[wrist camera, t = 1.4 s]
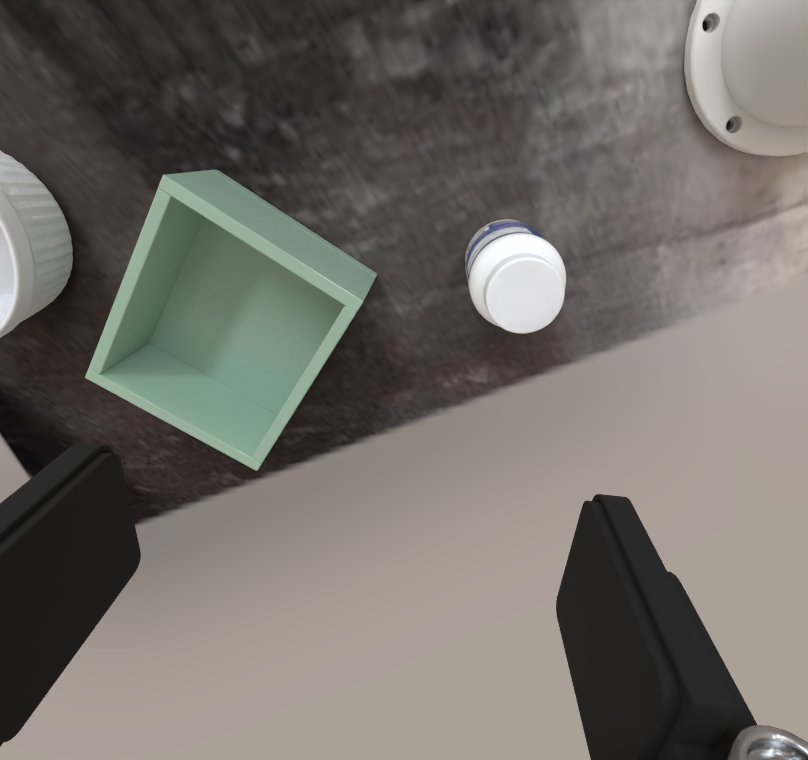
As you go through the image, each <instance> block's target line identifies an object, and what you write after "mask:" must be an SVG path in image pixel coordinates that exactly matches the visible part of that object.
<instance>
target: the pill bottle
mask: <svg viewBox="0 0 808 760" xmlns="http://www.w3.org/2000/svg"><path fill="white" fill-rule="evenodd" d="M465 269H466V274H467V279H468V284H469V291H470V295H471V298H472V301H473V303H474V305H475V307H476V309H477V310H478V312H479V313H480V314H481V315H482V316H483V317H484V318H485V319H486V320H488V321H489V322H491V323H492V324H494V325H497V326H499V327H501V328H503V329H505V330H507V331H510V332H513V333H531V332H535V331H537V330H540V329H542V328H544V327H545V326H547V325H548V324H549V323H551V322H552V321H553V320H554V319H555V317H556V316H557V315H558V313H559V311H560V309H561V307H562V305H563V301H564V291H565V286H566V271H565V267H564V264H563V261H562V259H561V257H560V255H559V254H558V252H557V251H556V249H555V248H554V247H553V246H552V245H551V244H550V243H549V242H548V241H546V240H545V239H544V238H543V237H542V236H541V235H540V234H538V233H537V232H536V231H535V230H534V229H533V228H531V227H530V226H528V225H527V224H525V223H522V222H520V221H516V220H499V221H495V222H492V223H490V224H488V225H486V226H484V227H483V228H482V229H480V230H479V231H478V232H477V233H476V234H475V235H474V237H473V238H472V239H471V241H470V243H469V245H468V248H467V251H466V255H465Z"/></svg>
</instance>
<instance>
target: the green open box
mask: <svg viewBox="0 0 808 760" xmlns="http://www.w3.org/2000/svg"><path fill="white" fill-rule="evenodd" d="M376 277H377V273H375V272H374V271H372V270H371V269H369V268H368V267H366V266H365V265H363V264H361V263H360V262H358V261H357V260H355V259H354V258H352V257H351V256H349V255H348V254H346V253H345V252H343V251H341V250H340V249H338V248H337V247H335V246H334V245H332V244H331V243H329V242H328V241H326V240H325V239H323V238H321V237H320V236H318V235H317V234H315V233H314V232H312V231H311V230H309V229H308V228H306V227H305V226H303V225H301V224H300V223H298V222H297V221H295V220H294V219H292V218H291V217H289V216H288V215H286V214H285V213H283V212H281V211H280V210H278V209H277V208H275V207H274V206H272V205H271V204H269V203H268V202H266V201H265V200H263V199H261V198H260V197H258V196H257V195H255V194H254V193H252V192H251V191H249V190H248V189H246V188H245V187H243V186H242V185H240V184H238V183H237V182H235V181H234V180H232V179H231V178H229V177H228V176H226V175H225V174H223V173H222V172H220V171H218V170H217V169H215V170H205V171H196V172H186V173H176V174H166V175H163V176H162V179H161V181H160V184H159V187H158V190H157V192H156V195H155V198H154V200H153V203H152V205H151V208H150V211H149V213H148V216H147V218H146V221H145V223H144V226H143V229H142V231H141V234H140V236H139V239H138V242H137V244H136V247H135V249H134V252H133V255H132V257H131V260H130V262H129V265H128V268H127V270H126V273H125V275H124V278H123V281H122V283H121V286H120V288H119V291H118V294H117V296H116V299H115V301H114V304H113V307H112V309H111V312H110V314H109V317H108V320H107V322H106V325H105V327H104V330H103V333H102V335H101V338H100V340H99V343H98V346H97V348H96V351H95V353H94V356H93V359H92V361H91V364H90V366H89V369H88V371H87V374H86V376H85V378H86V379H88V380H90V381H92V382H94V383H95V384H97V385H99V386H101V387H103V388H105V389H106V390H108V391H110V392H112V393H114V394H116V395H118V396H119V397H121V398H123V399H125V400H127V401H129V402H130V403H132V404H134V405H136V406H138V407H140V408H141V409H143V410H145V411H147V412H149V413H151V414H153V415H154V416H156V417H158V418H160V419H162V420H164V421H165V422H167V423H169V424H171V425H173V426H175V427H177V428H178V429H180V430H182V431H184V432H186V433H188V434H189V435H191V436H193V437H195V438H197V439H199V440H201V441H202V442H204V443H206V444H208V445H210V446H212V447H213V448H215V449H217V450H219V451H221V452H223V453H224V454H226V455H228V456H230V457H232V458H234V459H236V460H237V461H239V462H241V463H243V464H245V465H247V466H248V467H250V468H252V469H254V470H256V471H258V469H259V467H260V466H261V464H262V463H263V461H264V459H265V458H266V456H267V455H268V453H269V451H270V450H271V448H272V447H273V445H274V443H275V442H276V440H277V439H278V437H279V436H280V434H281V432H282V431H283V429H284V428H285V426H286V424H287V423H288V421H289V420H290V418H291V416H292V415H293V413H294V412H295V410H296V408H297V407H298V405H299V404H300V402H301V400H302V399H303V397H304V396H305V394H306V393H307V391H308V389H309V388H310V386H311V385H312V383H313V381H314V380H315V378H316V377H317V375H318V373H319V372H320V370H321V369H322V367H323V365H324V364H325V362H326V361H327V359H328V358H329V356H330V354H331V353H332V351H333V350H334V348H335V346H336V345H337V343H338V342H339V340H340V338H341V337H342V335H343V334H344V332H345V330H346V329H347V327H348V326H349V324H350V322H351V321H352V319H353V318H354V316H355V315H356V313H357V311H358V310H359V308H360V307H361V305H362V303H363V302H364V300H365V298H366V296H367V294H368V292H369V290H370V288H371V286H372V284H373V282H374V280H375V278H376Z"/></svg>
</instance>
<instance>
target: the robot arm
mask: <svg viewBox="0 0 808 760" xmlns="http://www.w3.org/2000/svg"><path fill="white" fill-rule="evenodd" d="M703 21H705V22H706V23H707V29H706V31H704V30H703V28H702V23H703ZM684 72H685V79H686V85H687V92H688V95H689V97H690V100H691V103H692V105H693V108H694V111H695V113H696V114H697V116H698V117H699V119H700V120H701V122H702V123H703V125H704V126H705V128H706V129H707V130H708V131H709V132H711V133H712V134H713V135H714V136H715V137H716V138H717V139H718V140H719V141H721V142H723V143H724V144H726V145H728V146H730V147H732V148H733V149H735V150H738V151H742V152H746V153H749V154H753V155H763V156H788V155H797V154H801V153H806V152H808V0H697V2H696V5H695V7H694V10H693V13H692V16H691V18H690V23H689V28H688V33H687V38H686V43H685V59H684ZM728 121H729V122H730V127H729V128H728V129H727V130H726V124H727V122H728ZM140 556H141V554H140V548H139V543H138V538H137V534H136V529H135V524H134V520H133V515H132V510H131V506H130V501H129V497H128V492H127V487H126V483H125V478H124V473H123V469H122V464H121V460H120V457H119V456H118V455H117V454H114V453H113V450H112V449H111V448H110V447H109V446H106V445H96V444H86V443H77V444H75V445H73V446H71V447H70V448H69V449H68V450H66V451H65V452H64V453H63V454H61V455H60V456H59V457H58V458H56V459H55V460H54V461H53V462H51V463H50V464H49V465H48V466H46V467H45V468H44V469H43V470H41V471H40V472H39V473H38V474H36V475H35V476H34V477H33V478H31V479H30V480H29V481H28V482H27V483H25V484H24V485H23V486H22V487H20V488H19V489H18V490H17V491H16V492H14V493H13V494H12V495H10V496H9V497H8V498H7V499H5V500H4V501H3V502H2V503H1V504H0V746H1V745H2V743H3V742H7V741H9V740H11V739H12V738H13V737H14V736H16V734H17V733H18V732H19V731H20V730H21V728H22V727H23V726H24V724H25V722H26V721H27V720H28V719H29V717H30V716H31V714H32V713H33V712H34V710H35V709H36V708H37V706H38V705H39V704H40V702H41V701H42V699H43V698H44V697H45V695H46V694H47V693H48V691H49V690H50V688H51V687H52V685H53V684H54V683H55V682H56V680H57V679H58V677H59V676H60V675H61V673H62V672H63V671H64V669H65V668H66V666H67V665H68V664H69V662H70V661H71V660H72V658H73V657H74V655H75V654H76V653H77V651H78V650H79V649H80V647H81V646H82V644H83V643H84V642H85V640H86V639H87V637H88V636H89V635H90V633H91V632H92V631H93V629H94V628H95V626H96V625H97V624H98V622H99V621H100V620H101V618H102V617H103V616H104V614H105V613H106V611H107V610H108V609H109V607H110V606H111V605H112V603H113V602H114V600H115V599H116V598H117V596H118V595H119V593H120V592H121V591H122V589H123V588H124V587H125V585H126V584H127V583H128V581H129V580H130V578H131V577H132V576H133V574H134V573H135V571H136V569H137V568H138V565H139V562H140ZM556 611H557V619H558V623H559V627H560V631H561V635H562V640H563V644H564V648H565V653H566V657H567V661H568V665H569V669H570V674H571V678H572V682H573V686H574V690H575V694H576V698H577V703H578V707H579V711H580V716H581V720H582V724H583V729H584V733H585V737H586V741H587V746H588V749H589V753H590V758H591V760H808V742H807V741H805V740H803V739H801V738H799V737H797V736H796V735H794V734H792V733H790V732H788V731H785V730H782V729H779V728H775V727H772V726H763V725H757V723H756V721H755V720H754V718H753V716H752V714H751V712H750V711H749V709H748V707H747V705H746V703H745V701H744V699H743V697H742V695H741V694H740V692H739V690H738V688H737V686H736V684H735V683H734V681H733V679H732V677H731V675H730V673H729V671H728V669H727V668H726V666H725V664H724V662H723V660H722V658H721V656H720V655H719V653H718V651H717V649H716V647H715V646H714V643H713V642H712V640H711V638H710V636H709V634H708V632H707V630H706V629H705V627H704V625H703V623H702V621H701V619H700V617H699V616H698V614H697V612H696V610H695V608H694V606H693V604H692V603H691V601H690V599H689V597H688V595H687V593H686V591H685V590H684V588H683V586H682V584H681V582H680V581H679V579H678V578H677V577H676V576H675V575H674V574H673V573H671V572H667V570H666V569H665V567H664V565H663V563H662V561H661V559H660V557H659V555H658V553H657V551H656V549H655V547H654V546H653V544H652V542H651V540H650V538H649V536H648V534H647V532H646V530H645V528H644V526H643V524H642V523H641V521H640V519H639V517H638V515H637V513H636V511H635V509H634V507H633V505H632V503H631V501H630V500H629V499H628V498H627V497H620V496H611V495H600V494H597V495H595V496H594V498H593V500H592V501H585V502H584V504H583V506H582V510H581V513H580V517H579V520H578V524H577V528H576V531H575V535H574V538H573V542H572V545H571V549H570V553H569V556H568V560H567V564H566V567H565V571H564V575H563V578H562V582H561V586H560V589H559V592H558V596H557V602H556Z"/></svg>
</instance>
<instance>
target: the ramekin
mask: <svg viewBox="0 0 808 760" xmlns="http://www.w3.org/2000/svg"><path fill="white" fill-rule="evenodd" d="M72 263H73V247H72V241H71V235H70V231H69V227H68V225H67V222H66V219H65V217H64V215H63V213H62V211H61V209H60V207H59V205H58V204H57V202H56V201H55V199H54V197H53V196H52V194H51V193H50V192H49V191H48V189H47V188H46V187H45V185H44V184H43V183H42V182H41V181H40V180H39V179H38V178H37V177H36V176H35V175H34V174H33V173H32V172H30V171H29V170H27V168H26V167H25V166H24V165H23V164H21V163H19V162H17V161H16V160H15V159H14V158H12V157H11V156H9V155H6V154H4V153H3V152H1V151H0V337H2V336H4V335H6V334H7V333H9V332H10V331H11V330H13V329H14V328H15V327H16V326H17V325H18V324H19V323H20V322H22V321H24V320H25V319H27V318H29V317H30V316H32V315H34V314H35V313H37V312H38V311H40V310H42V309H43V308H44V307H46V306H47V305H48V304H50V303H51V302H52V301H54V300H55V298H56V297H57V296H58V295H59V294H60V293H61V292H62V290H63V288H64V287H65V286H66V284H67V281H68V279H69V277H70V274H71V270H72Z"/></svg>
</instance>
